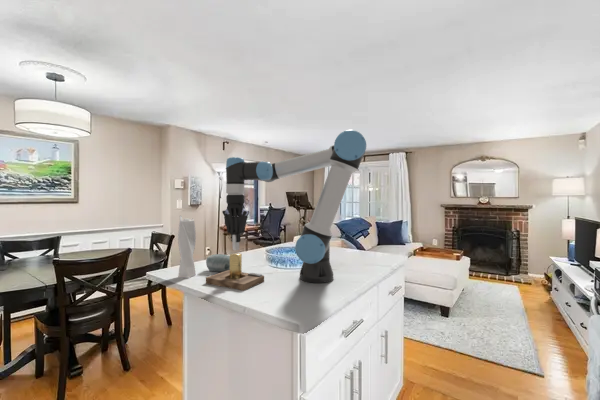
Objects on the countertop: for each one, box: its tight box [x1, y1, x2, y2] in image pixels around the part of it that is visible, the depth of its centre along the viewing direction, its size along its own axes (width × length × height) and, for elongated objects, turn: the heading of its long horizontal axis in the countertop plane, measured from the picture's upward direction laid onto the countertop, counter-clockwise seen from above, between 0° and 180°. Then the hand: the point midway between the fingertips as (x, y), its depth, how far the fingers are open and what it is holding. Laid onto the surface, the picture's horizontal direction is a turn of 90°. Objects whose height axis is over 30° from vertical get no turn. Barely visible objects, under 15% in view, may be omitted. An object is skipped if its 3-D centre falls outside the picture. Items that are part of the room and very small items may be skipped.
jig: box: [205, 270, 265, 291], centre depth 124 cm, size 20×14×3 cm
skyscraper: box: [177, 215, 197, 279], centre depth 133 cm, size 8×8×28 cm
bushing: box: [229, 252, 243, 279], centre depth 123 cm, size 5×5×12 cm
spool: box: [205, 253, 230, 273], centre depth 142 cm, size 14×10×10 cm
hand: (235, 249), depth 123 cm, fingers closed
